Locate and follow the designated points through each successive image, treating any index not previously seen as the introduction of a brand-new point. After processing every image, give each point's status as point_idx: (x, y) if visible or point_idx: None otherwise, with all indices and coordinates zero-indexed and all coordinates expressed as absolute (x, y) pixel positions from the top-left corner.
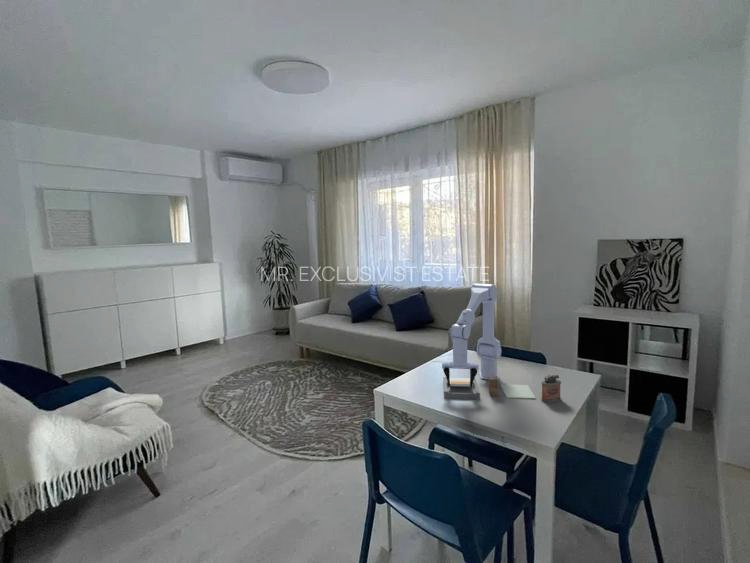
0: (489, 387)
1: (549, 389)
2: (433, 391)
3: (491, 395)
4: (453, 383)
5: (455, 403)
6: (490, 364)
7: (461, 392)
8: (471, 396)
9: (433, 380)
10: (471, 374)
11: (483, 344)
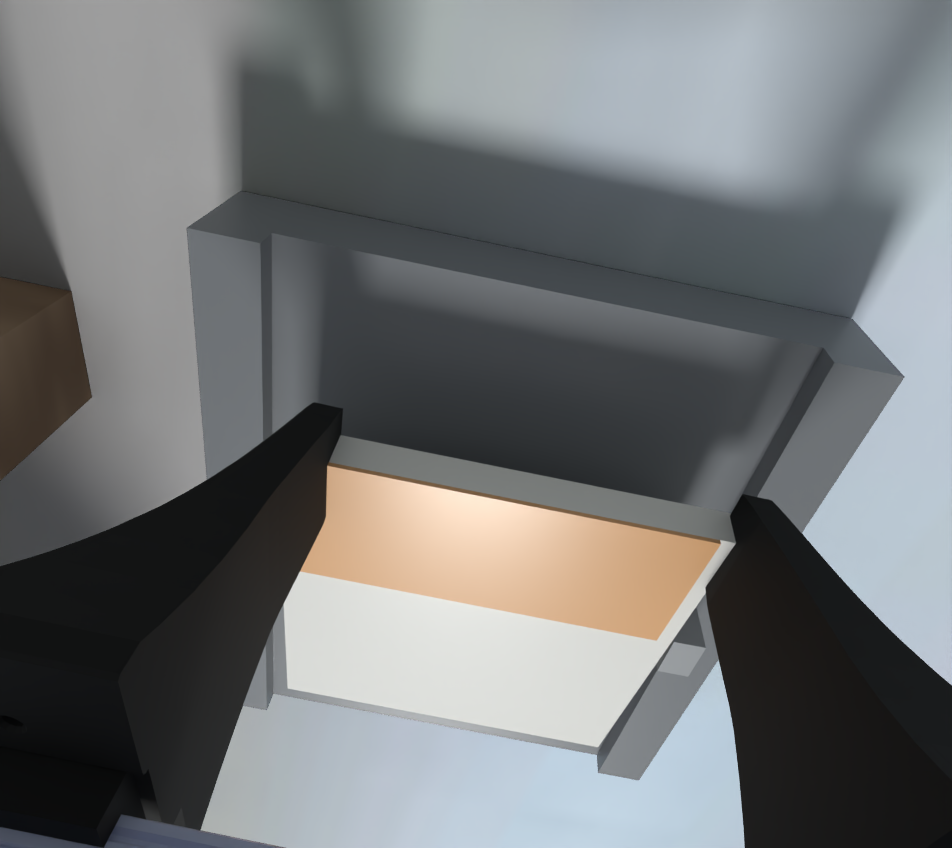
0: (4, 401)
1: None
2: (888, 543)
3: (44, 289)
4: (655, 548)
5: (763, 34)
6: None
7: (540, 340)
8: (376, 234)
9: (718, 764)
10: (180, 593)
11: None
